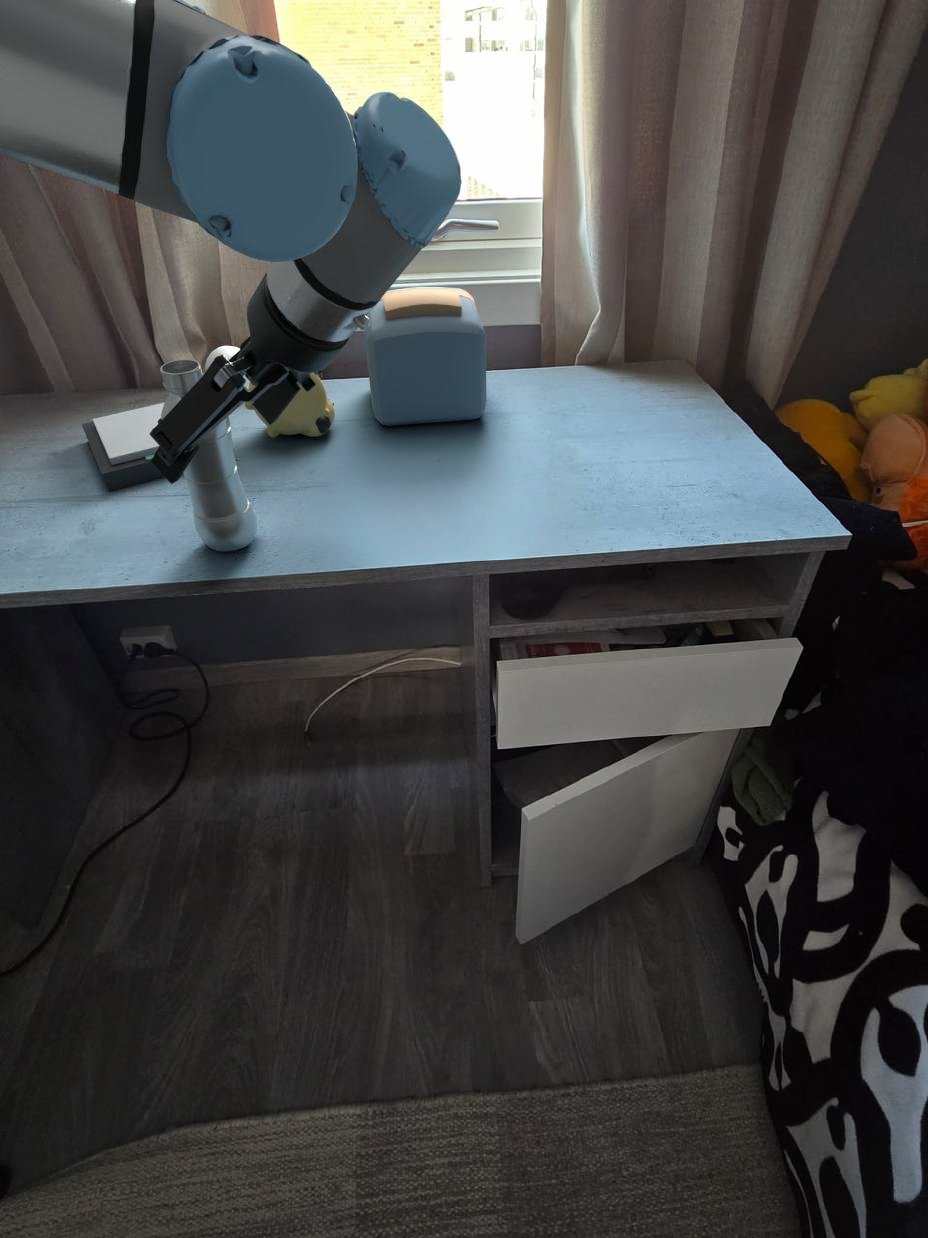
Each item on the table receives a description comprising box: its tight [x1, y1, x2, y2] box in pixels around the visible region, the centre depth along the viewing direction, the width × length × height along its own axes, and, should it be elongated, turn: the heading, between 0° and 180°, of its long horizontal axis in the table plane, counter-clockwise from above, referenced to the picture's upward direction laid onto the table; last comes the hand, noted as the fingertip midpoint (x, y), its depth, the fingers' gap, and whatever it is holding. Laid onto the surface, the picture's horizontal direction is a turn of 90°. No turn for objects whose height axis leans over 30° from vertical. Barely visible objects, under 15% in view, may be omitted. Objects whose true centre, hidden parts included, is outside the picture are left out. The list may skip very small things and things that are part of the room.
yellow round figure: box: [244, 373, 336, 438], centre depth 95 cm, size 10×12×11 cm
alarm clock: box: [363, 286, 488, 427], centre depth 99 cm, size 16×16×16 cm
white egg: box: [204, 345, 250, 390], centre depth 106 cm, size 10×7×7 cm
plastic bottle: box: [159, 358, 258, 552], centre depth 71 cm, size 6×7×20 cm
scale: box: [81, 402, 165, 492], centre depth 93 cm, size 16×16×4 cm
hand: (216, 440), depth 68 cm, fingers open, 13 cm apart
